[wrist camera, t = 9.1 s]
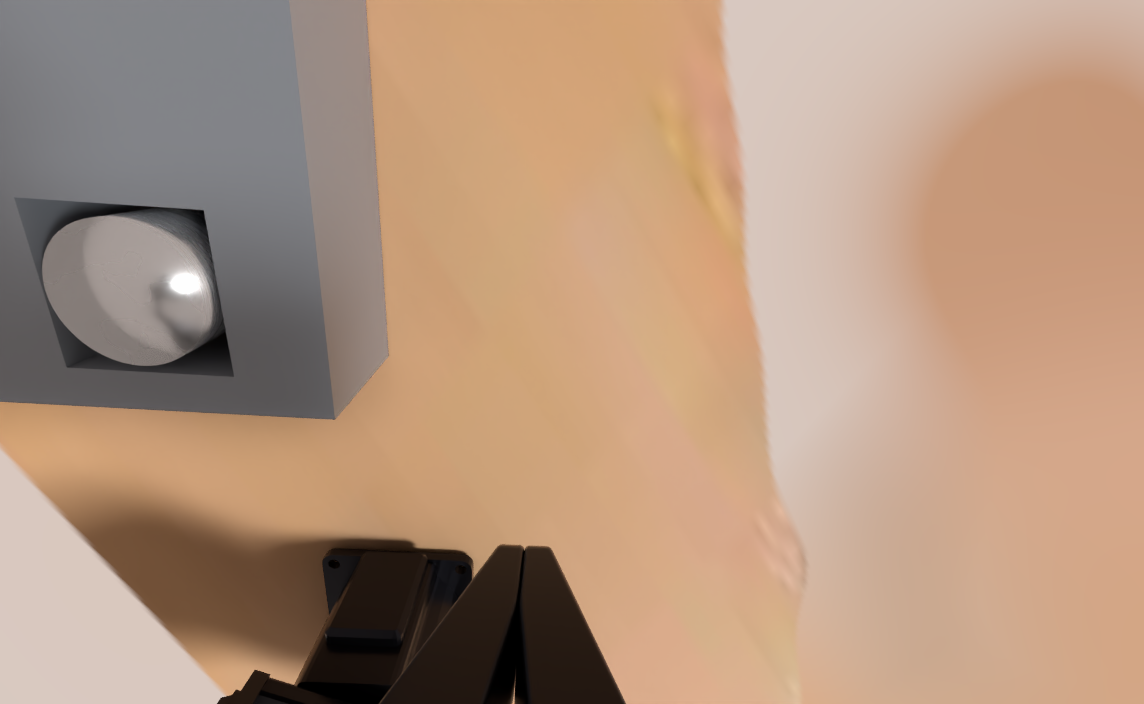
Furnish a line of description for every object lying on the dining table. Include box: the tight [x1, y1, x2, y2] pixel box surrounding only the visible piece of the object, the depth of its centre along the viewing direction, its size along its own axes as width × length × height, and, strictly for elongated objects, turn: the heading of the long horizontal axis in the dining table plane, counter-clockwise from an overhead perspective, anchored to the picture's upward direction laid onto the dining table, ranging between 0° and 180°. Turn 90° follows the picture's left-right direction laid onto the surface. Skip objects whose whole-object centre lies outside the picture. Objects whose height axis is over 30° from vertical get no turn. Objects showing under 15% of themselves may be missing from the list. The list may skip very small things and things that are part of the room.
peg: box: [42, 207, 226, 366], centre depth 16 cm, size 4×4×5 cm
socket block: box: [0, 0, 389, 420], centre depth 14 cm, size 17×10×5 cm, turn 176°
